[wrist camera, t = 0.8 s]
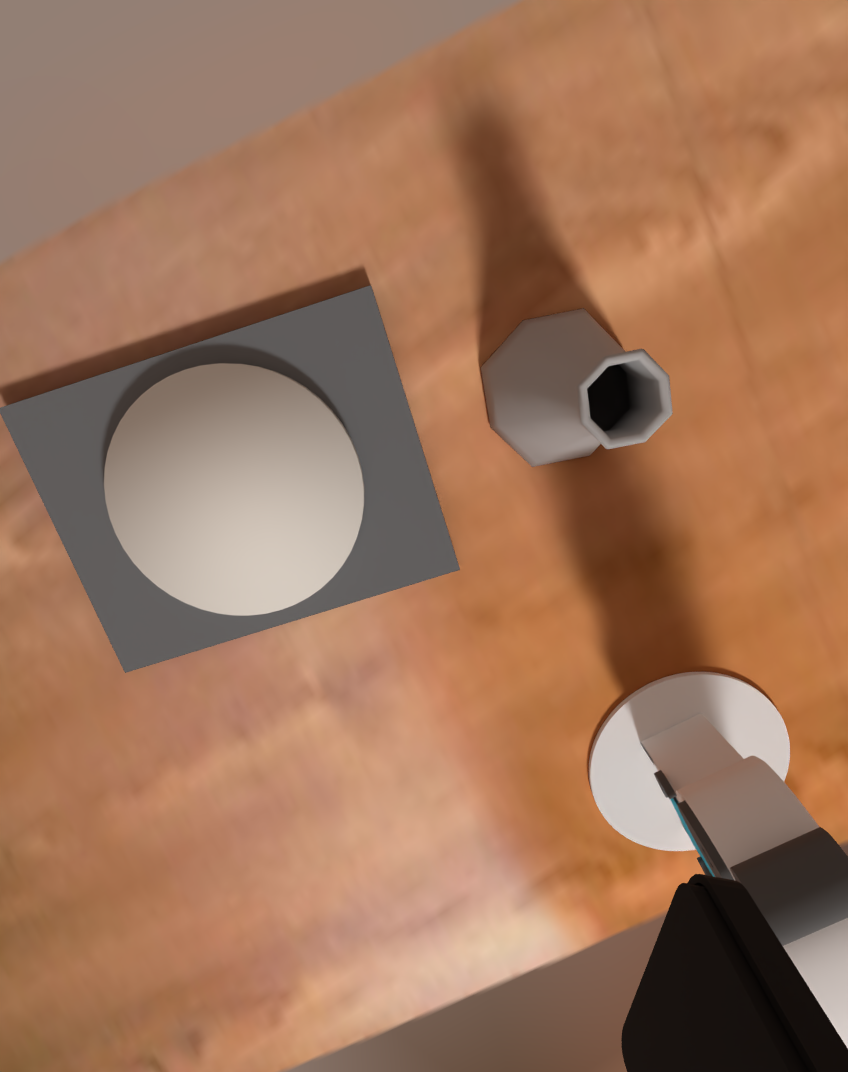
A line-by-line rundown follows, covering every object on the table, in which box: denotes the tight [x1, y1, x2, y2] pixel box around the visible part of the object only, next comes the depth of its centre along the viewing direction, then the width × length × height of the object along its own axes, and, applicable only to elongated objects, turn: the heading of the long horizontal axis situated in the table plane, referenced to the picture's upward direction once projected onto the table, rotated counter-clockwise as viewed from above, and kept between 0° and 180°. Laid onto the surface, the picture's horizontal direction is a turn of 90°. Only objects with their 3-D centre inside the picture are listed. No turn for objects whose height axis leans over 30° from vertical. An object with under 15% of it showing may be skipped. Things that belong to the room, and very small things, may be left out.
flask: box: [481, 308, 672, 467], centre depth 26 cm, size 7×7×10 cm
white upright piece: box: [589, 672, 848, 1048], centre depth 29 cm, size 12×11×15 cm
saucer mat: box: [0, 285, 460, 673], centre depth 31 cm, size 18×14×2 cm
